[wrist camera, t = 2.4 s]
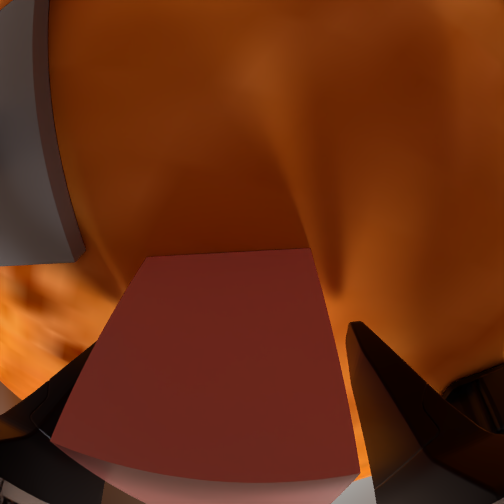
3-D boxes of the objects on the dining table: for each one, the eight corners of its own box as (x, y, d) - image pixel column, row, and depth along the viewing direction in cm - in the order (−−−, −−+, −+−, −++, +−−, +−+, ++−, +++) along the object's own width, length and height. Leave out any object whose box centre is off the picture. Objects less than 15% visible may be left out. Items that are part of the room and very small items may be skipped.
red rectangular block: (305, 359, 11) (319, 514, 5) (182, 361, 12) (149, 504, 6) (310, 248, 9) (360, 473, 3) (146, 256, 9) (49, 440, 3)
